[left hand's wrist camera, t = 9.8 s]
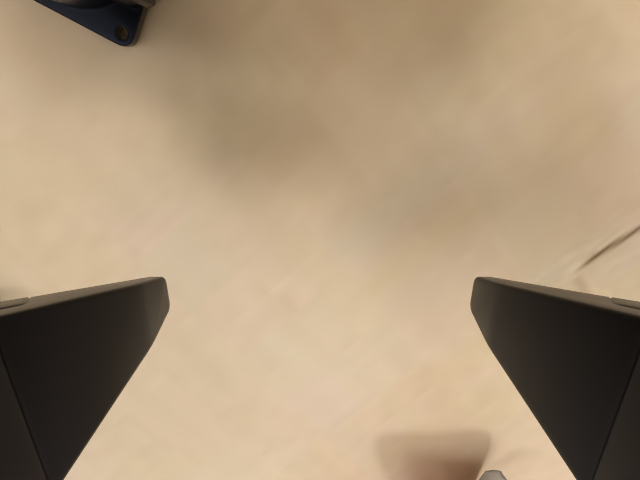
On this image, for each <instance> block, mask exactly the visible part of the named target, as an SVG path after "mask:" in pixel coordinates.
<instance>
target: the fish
mask: <svg viewBox="0 0 640 480" xmlns="http://www.w3.org/2000/svg"><path fill="white" fill-rule="evenodd" d="M479 480H507V479H506V478H505V477H504V475H503V474H502V472H501V471H497V470H490V471H485V472H484V474H483V475H482V476H481V478H480V479H479Z"/></svg>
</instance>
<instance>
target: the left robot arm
mask: <svg viewBox="0 0 640 480" xmlns="http://www.w3.org/2000/svg"><path fill="white" fill-rule="evenodd" d="M35 1H36V2H38V3H40V4H42V5H44V6H46V7H48V8H50V9H52V10H53V11H55V12H57V13H59V14H61V15H63V16H65V17H67V18H69V19H71V20H72V21H74V22H76V23H78V24H80V25H82V26H84V27H86V28H88V29H90V30H91V31H93V32H95V33H97V34H99V35H101V36H103V37H105V38H107V39H108V40H110V41H112V42H114V43H116V44H118V45H121V46H125V47H131V46H133V45H135V44H136V42H137V40H138V37H139V34H140V31H141V28H142V25H143V21H144V18H145V15H146V12H147V8H149V7H152V6H154V5H155V3H156V0H35ZM123 27H125V28H126V29H127V31H128V37H127V38H126V39H123V38H122V37H121V35H120V30H121V29H122V28H123ZM168 311H169V297H168V290H167V284H166V281H165V279H164V278H163V277H147V278H141V279H135V280H130V281H124V282H118V283H112V284H106V285H100V286H94V287H89V288H83V289H77V290H71V291H65V292H59V293H53V294H48V295H42V296H36V297H31V298H30V299H29V298H21V299H15V300H9V301H3V302H0V480H64V478H65V477H66V475H67V474H68V472H69V471H70V469H71V467H72V466H73V464H74V463H75V461H76V460H77V458H78V457H79V455H80V454H81V452H82V451H83V449H84V448H85V446H86V445H87V443H88V442H89V440H90V439H91V437H92V436H93V434H94V433H95V431H96V430H97V428H98V427H99V425H100V424H101V422H102V421H103V419H104V417H105V416H106V414H107V413H108V411H109V410H110V408H111V407H112V405H113V404H114V402H115V401H116V399H117V398H118V396H119V395H120V393H121V392H122V390H123V389H124V387H125V386H126V384H127V383H128V381H129V380H130V378H131V377H132V375H133V374H134V372H135V371H136V369H137V367H138V366H139V364H140V363H141V361H142V360H143V358H144V357H145V355H146V354H147V352H148V351H149V349H150V347H151V346H152V344H153V342H154V340H155V338H156V336H157V334H158V332H159V330H160V328H161V326H162V324H163V322H164V320H165V318H166V316H167V313H168ZM471 311H472V313H473V315H474V318H475V320H476V322H477V324H478V326H479V328H480V330H481V332H482V334H483V336H484V338H485V340H486V342H487V344H488V346H489V347H490V349H491V351H492V352H493V354H494V355H495V357H496V358H497V360H498V361H499V363H500V364H501V366H502V367H503V369H504V370H505V372H506V374H507V375H508V377H509V378H510V380H511V381H512V383H513V384H514V386H515V387H516V389H517V390H518V392H519V393H520V395H521V396H522V398H523V399H524V401H525V402H526V404H527V405H528V407H529V408H530V410H531V411H532V413H533V414H534V416H535V417H536V419H537V420H538V422H539V423H540V425H541V426H542V428H543V430H544V431H545V433H546V434H547V436H548V437H549V439H550V440H551V442H552V443H553V445H554V446H555V448H556V449H557V451H558V452H559V454H560V455H561V457H562V458H563V460H564V461H565V463H566V464H567V466H568V467H569V469H570V470H571V472H572V473H573V475H574V477H575V478H576V480H640V302H637V301H631V300H625V299H619V298H611V299H610V298H609V297H604V296H599V295H593V294H587V293H581V292H575V291H569V290H563V289H558V288H552V287H546V286H540V285H534V284H528V283H522V282H516V281H511V280H505V279H499V278H493V277H477V278H476V279H475V281H474V284H473V290H472V297H471Z"/></svg>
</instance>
